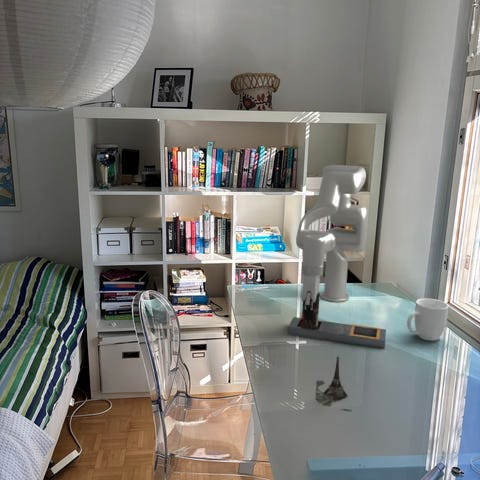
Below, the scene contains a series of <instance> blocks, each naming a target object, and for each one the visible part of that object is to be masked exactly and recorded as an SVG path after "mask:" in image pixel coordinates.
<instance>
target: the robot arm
mask: <svg viewBox="0 0 480 480" xmlns="http://www.w3.org/2000/svg"><path fill="white" fill-rule="evenodd" d="M366 179H367V173H366V169H365V168H364V167H363V166H360V165H341V164H331V165H326V166H324V168H323V169H322V179H321V183H320V187H319V191H318V195H317V199H316V204H315V205H314V206H313V207H311V208H310V209H309V210H307V212H306V213H305V214H304V215H303V216H302V218H301V219H300V222H299V224H298V227H297V228H298V229H297V232H296V239H295V243H296V246H297V247H298V249H301V250H302V266H301V274H303V281H302V290H301V301H302V302H303V301H305V299H306V301H305V310H304V319H305V320H313V312H314V310H313V303H314V302H315V301H316V297H317V294H318V292H319V293H320V296H319V297H320V298H321V299H323V300H325V301H328V302H334V303H342V302H347V301H349V300H350V295H349V294H348V293H347V280H348V266H349V259H348V256H347V254H346V253H345V252H352V253H353V252H354V253H362V252H364V251H365V250H366V246H367V239H368V237H367V236H368V223H369V221H368V219H369V218H368V217H369V214H368V209H367V208H366V206H364V205H361V204H352V203H351V199H352V195H357V194H358V193H359V192H360V190H361V189H362V187H363V186H364V185H365V182H366ZM327 217H329V221H330V223H331V224H332V225H335V226H337V227H332V228H329V229H328V230H327V231H322V230H312V229H309V227H310V226H311V225H312V223H315V222H316V221H318V220H320V219H323V218H324V219H325V218H327ZM338 226H339V227H338ZM340 226H341V227H340ZM342 227H348V228H342ZM350 227H351V229H350ZM352 228H354V229H352ZM325 254H326V255H325ZM324 259H325V270H324ZM324 271H325V273H324ZM323 275H324V286H323V287H324V289H323V290H324V291H322V292H320V284H321V283H320V281H321V280H320V279H321V276H323ZM310 299H311V300H312V301H310ZM310 303H312V304H310Z"/></svg>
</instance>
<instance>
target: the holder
mask: <svg viewBox="0 0 480 480" xmlns="http://www.w3.org/2000/svg"><path fill="white" fill-rule="evenodd" d="M386 333H387V329H384V328H380V327H373V326H366V325H361V324H360V325H359V324H349V323H348V324H347V323H340V322H333V321H325V320H319V319H318V330H316V329H309V328H302V317H297V316H295V317H294V316H293V318H292V319H291V321H290V323H289V324H288V326H287V335H290V336H296V337H304V338H310V339H316V338H317V340H324V341H329V340H330V342H336V341H337V343H344V344H350V345H351V344H352V345H358V346H365V347H372V348H378V349H385V348H386V347H385V345H386V335H387V334H386Z"/></svg>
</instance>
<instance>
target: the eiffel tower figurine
mask: <svg viewBox="0 0 480 480" xmlns="http://www.w3.org/2000/svg"><path fill="white" fill-rule="evenodd" d="M339 362H340V357H339V356H337V357H336V364H335V370H334V375H333V377H332V381H331V383H330V384H329V385H328V387H327V388H326V389H325V391H324V392H323V391H322V390H321V389H320V388H319V387H320V386H323V385H325V384H326V383H325V381H324V380H320V379H319V380H318V379H317V380H316V386H315V388H316V389H315V401H316V402H317V403H319V404H320V405H322V406H324V407H332V405H333V402H334V403H338V402H340V401H343V400H344V399H347V398H350V396H349V395H348V394H347V392H346V390H345V389H344V386H342V383H341V377H340V364H339ZM332 401H333V402H332ZM339 410H340V411H349V412H352V409H348V408H347V409H345V408H342V409H341V408H340V409H339Z"/></svg>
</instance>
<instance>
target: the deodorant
mask: <svg viewBox="0 0 480 480" xmlns="http://www.w3.org/2000/svg"><path fill="white" fill-rule="evenodd" d="M320 294H321V292H320V291H319V292H318V294H317V297H316V301H315V302H314V303H313V310H314V312H313V320H305V319H304V310H305V301H306V299H305V301H302V308H301V310H302V311H301V318H302V328H309V329H316V330H319V329H318V320H319V314H320V313H319V311H320V297H321V296H320ZM310 301H312V300H311V299H310ZM310 304H312V303H310Z"/></svg>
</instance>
